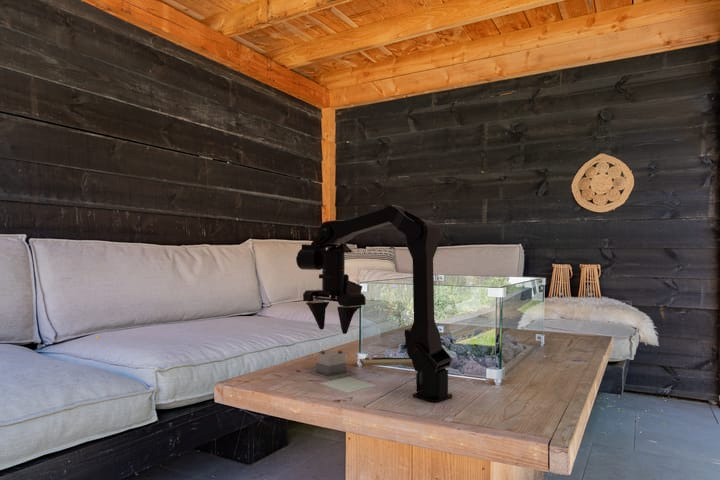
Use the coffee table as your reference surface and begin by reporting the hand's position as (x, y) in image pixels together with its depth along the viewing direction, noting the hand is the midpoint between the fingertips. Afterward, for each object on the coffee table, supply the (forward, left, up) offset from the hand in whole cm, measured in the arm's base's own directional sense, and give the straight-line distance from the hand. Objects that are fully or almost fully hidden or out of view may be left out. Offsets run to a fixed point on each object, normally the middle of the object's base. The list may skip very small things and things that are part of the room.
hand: (332, 331), depth 122 cm
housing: (0, 0, -10) cm, 10 cm away
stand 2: (-11, +4, -12) cm, 17 cm away
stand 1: (0, 0, -12) cm, 12 cm away
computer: (-1, -20, -13) cm, 23 cm away
